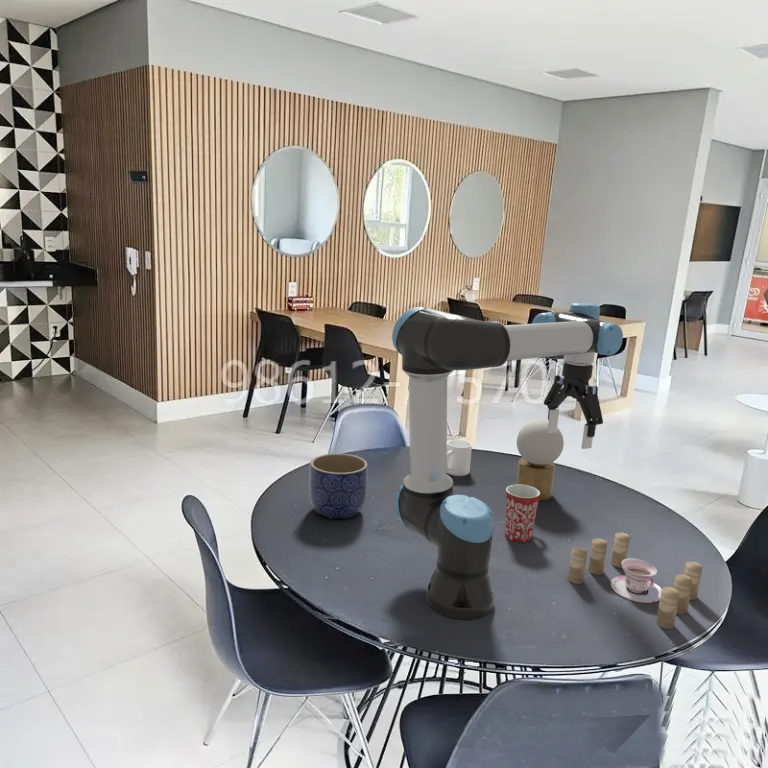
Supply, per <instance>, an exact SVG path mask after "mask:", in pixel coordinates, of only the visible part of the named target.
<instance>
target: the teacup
mask: <svg viewBox="0 0 768 768" xmlns="http://www.w3.org/2000/svg"><path fill="white" fill-rule="evenodd" d="M621 564H622V568H621V569H622V570H623V571H624V575H618V576H615V577H613V579H611V580H610V585H609V586H610V587H611V589H612V591H614V593H616V594H617V595H619V596H620V597H622V598H624V599H627V600H629V601H632V602H636V603H641V604H643V603H644V604H651V603H653V602H654V603H656V602H657V603H658V602H660V597H661V591H662V588H661V587H660V586H659V585H658V584H656V583H655V582H654V581H655V580H654V579H653V577H655V575H657V573H658V569H657V568H656V567H655V566H654V565H653V564H651V563H649V562H648V561H645V560H642V559H639V558H635V557H634V558H632V557H629V558H628V557H627V559H624V560H623V561H622V562H621ZM652 586H653V587H654V588H656V589H657V591H658V593H659V594H658V598H657V599H655V600H648V601H644V600H639V599H638V598H642V597H640V596H644V595H645V594H642V593H643V592H644V591H645V592H646V591H647V589H649V588H651V587H652ZM627 588H628V589H627ZM654 603H653V604H654Z"/></svg>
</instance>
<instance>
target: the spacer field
mask: <svg viewBox="0 0 768 768" xmlns="http://www.w3.org/2000/svg"><path fill="white" fill-rule="evenodd" d="M630 540H631V536H630V535H629V534H628V533H625V532H616V533H615V534H614V542H613V548H612V554H611V563H610V564H611V565H612V566H613V567H615V568H618V569H623V568H622V564H621V562H622V561H623V560H624V559H627V558H628V553H629V547H630ZM607 550H608V541H606V540H605V539H602V538H594V539H592V540H591V547H590V555H589V563H588V572H589V573H591V574H592V575H595V576H599V575H600V576H602V575H603V574H604V571H605V570H604V569H605V563H606V558H607V557H606V556H607ZM587 556H588V550H587V549H586V548H584V547H581V546H573V547H571V553H570V562H569V570H568V575H567V580H568V582H570V583H572V584H577V585H581V584H583V583H584V580H585V571H586V565H587V563H586V562H587ZM702 572H703V565H701V564H700V563H698V562H697V561H687V562H685V566H684V570H683V574H681V573H680V574H679V573H678V574H676V575H675V577H674V582H673V587H669V586H665V587H662V588H661V589H662V591H661V597H660V601H659V603H658V604H659V605H658V610H657V616H656V622H657V623H656V625H658V627H660V628H661V629H662V628H663V629H665V630H672V629H674V627H675V625H676V624H675V622H676V616H677V615H687V613H688V609H689V603H690V601H696V600H697V599H698V594H699V588H700V582H701V577H702Z"/></svg>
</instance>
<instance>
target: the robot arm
mask: <svg viewBox="0 0 768 768" xmlns="http://www.w3.org/2000/svg"><path fill="white" fill-rule="evenodd" d="M600 313H601V308H600V306H599V305H597V304H594V303H590V302H572V303H571V304H570V306H569V309H568V311H560V312H559V311H558V312H557V311H556V312H554V311H553V312H551V311H547V312H542V313H538V314H537V315H535V317H534V318H533V320H532V323H525V324H508V325H506V324H505V325H504V323H502V322H500V321H495V320H493V321H491V320H490V321H488V320H487V321H486V320H485V321H484V320H480V319H479V320H478V319H474V318H470V317H467V316H463V315H459V314H454V313H450V312H446V311H441V310H437V309H436V308H432V307H421V306H416V307H412V308H410V309H408V310H407V309H406V311H404V312H403V313H402V314H401V316H400V317H399V318H398V319H397V320H396V322H395V323H394V327H393V329H392V334H391V340H392V344H393V347H394V349H395V350H396V352H397V353H399V354H400V355H401V369H402V372H403V373H405V375H407V377H408V398H409V399H408V403H409V404H408V406H409V407H408V408H409V409H408V410H409V411H408V412H409V413H408V416H409V418H408V419H409V422H408V423H409V427H408V428H409V433H408V434H409V437H408V438H409V474H407V475H406V476H405V477H404V479H403V483H402V484H401V485H400V486H399V491H396V494H395V498H394V510H395V513H396V515H397V518H398V519H399V520H400V522H401V523H402V524H404V526H405V528H407V529H409V530H410V531H412V532H414V533H416V534H417V535H419V536H420V537H422V538H423V539H425V540H426V541H427V542H429V544H431V545H433V546H434V547H436V548H437V552H436V553H437V554H436V564H435V565H436V566H435V569H434V571H433V573H432V575H431V577H430V580H429V582H428V584H427V586H426V597H425V598H426V599H425V600H426V602H427V604H428V606H429V607H430V608H431V609H432V610H434V611H435V612H436V613H439V614H441V615H443V616H446V617H448V618H453V619H459V620H472V619H479V618H483V617H484V616H487V615H488V614H489V613H491V611H492V609H493V607H494V601H495V599H494V598H495V595H494V590H493V588H492V586H491V579H490V574H489V569H490V560H491V551H492V539H493V535H494V525H493V524H494V517H493V516H494V515H493V512H492V510H491V508H490V507H489V506H488V505H487V504H486V503H485V502H484V501H482V500H480V499H478V498H476V497H474V496H470V497H469V495H466V494H464V495H463V494H454V481H453V478H452V477H451V476H449V474H448V473H447V442H448V378H449V376H450V375H451V374H452V373H453V372H455V371H471V370H480V369H489V368H498V367H502V366H503V365H504V364H506V363H507V362H508V361H510V362H511V361H519V360H521V361H522V360H528V359H529V360H530V359H539V358H549V357H558V356H563V360H564V362H563V363H562V364H563V365H562V369H561V370H562V371H561V372H562V373H561V374H559V375H558V374H557V375H555V376H554V381H553V383H552V385H551V387H550V389H549V391H548V393H547V394H546V397H545V399H544V401H543V405H544V406H547V409H548V411H547V412H548V414H547V421H548V429H547V433H556V432H557V427H558V425H559V424H558V422H559V415H560V409H559V407H560V405H562V403H563V402H564V401H565V400H566V399H567V398H568V397H570V398H572V399H575V400H576V401H577V402H578V403H579V406H580V408H581V411H582V413H583V416H584V419H585V421H586V423H584V426H583V434H582V439H581V440H582V441H581V449H582V450H587V449H592V446H593V438H594V437H595V435H596V429H597V428H596V427H597V425H602V424H603V423H604V419H603V415H602V410H601V405H600V399H599V395H598V394H599V393H598V392H599V387H598V386H597V385H590V384H589V382H590V380H591V379H592V377H593V376H592V375H593V368H594V365H593V363H594V361H595V360H594V359H595V354H599V355H600V356H601V355H603V356H613V355H615V354H616V353H617V352H618V351H619V350H620V348H621V347H622V344H623V338H624V333H623V330H622V328H621V326H620V325H619V324H616V323H613V322H610V321H607V320H600Z"/></svg>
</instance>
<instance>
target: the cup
mask: <svg viewBox="0 0 768 768" xmlns="http://www.w3.org/2000/svg"><path fill="white" fill-rule="evenodd" d="M472 447H473V444H472V443H471V442H470V441H468V440H463V439H451V440H447V475H451V476H455V477H464V476H467V475H469V474H470V469H471V459H472Z"/></svg>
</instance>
